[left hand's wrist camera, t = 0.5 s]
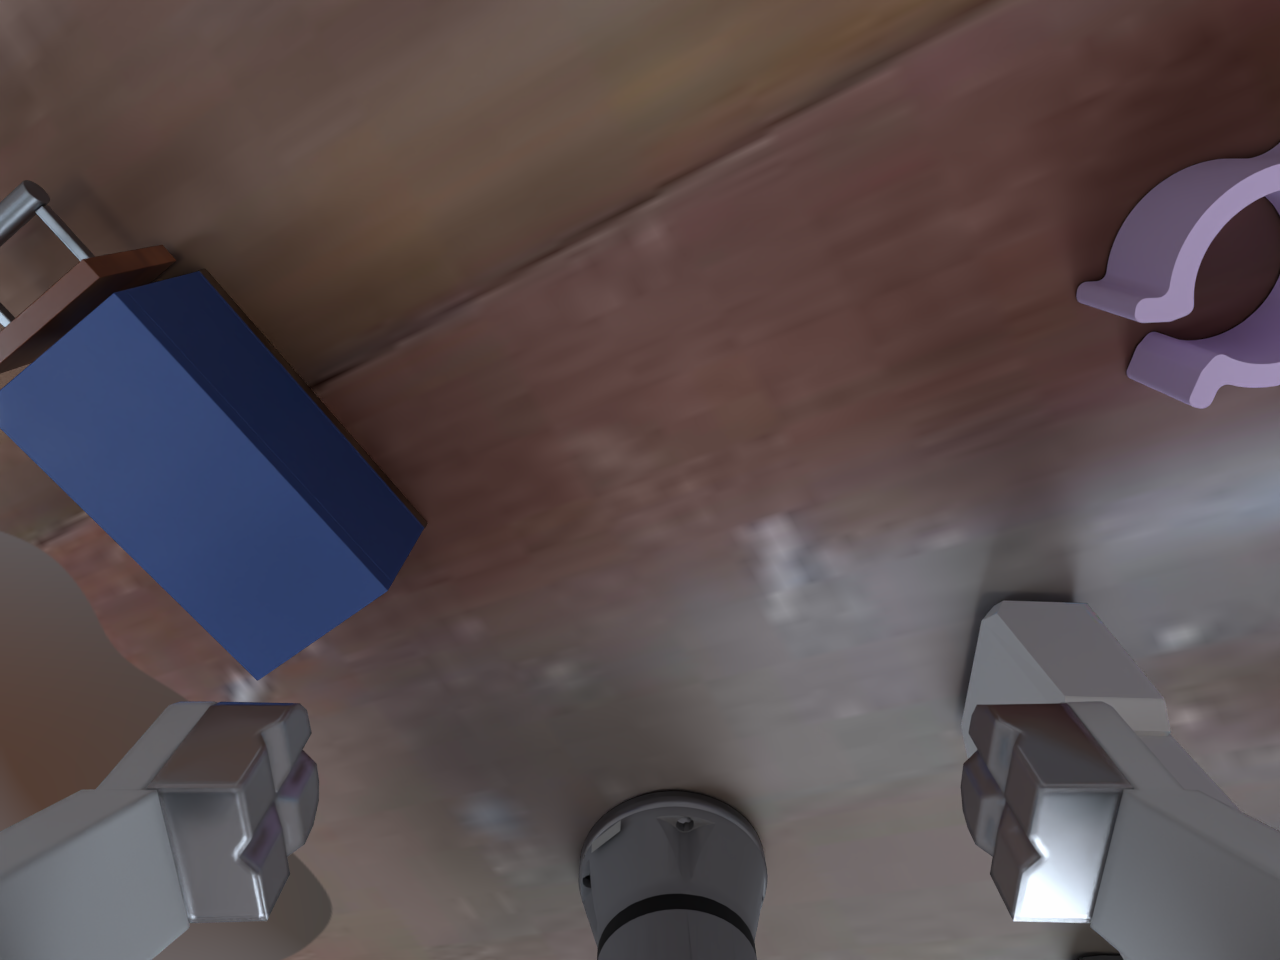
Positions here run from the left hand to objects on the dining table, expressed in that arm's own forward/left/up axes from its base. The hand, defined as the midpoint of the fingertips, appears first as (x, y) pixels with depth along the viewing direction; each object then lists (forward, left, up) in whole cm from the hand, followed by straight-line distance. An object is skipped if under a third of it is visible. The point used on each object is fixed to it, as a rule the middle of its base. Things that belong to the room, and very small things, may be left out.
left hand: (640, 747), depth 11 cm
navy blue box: (+11, -26, -47) cm, 55 cm away
